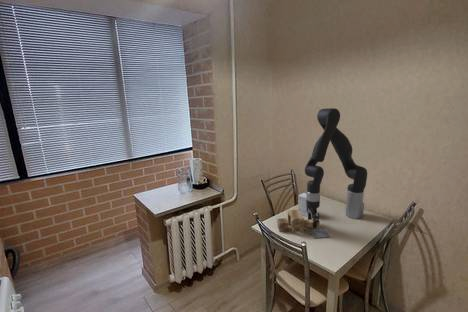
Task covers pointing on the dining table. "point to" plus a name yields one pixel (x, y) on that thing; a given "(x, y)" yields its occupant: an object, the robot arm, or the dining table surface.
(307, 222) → the beech rod
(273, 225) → the dining table surface
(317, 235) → the slate coaster
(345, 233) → the dining table surface
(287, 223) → the walnut block
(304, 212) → the small box
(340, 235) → the dining table surface
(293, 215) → the oak bridge
